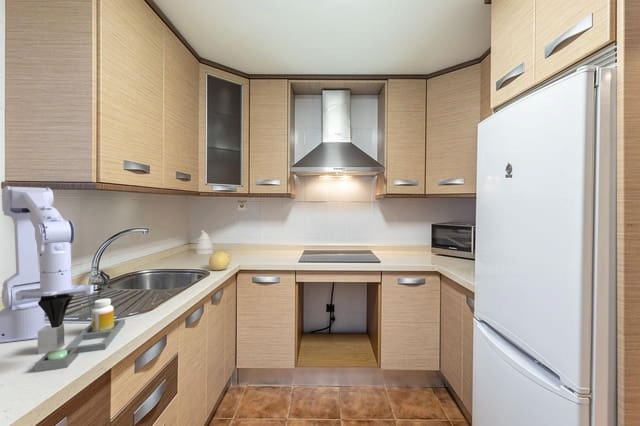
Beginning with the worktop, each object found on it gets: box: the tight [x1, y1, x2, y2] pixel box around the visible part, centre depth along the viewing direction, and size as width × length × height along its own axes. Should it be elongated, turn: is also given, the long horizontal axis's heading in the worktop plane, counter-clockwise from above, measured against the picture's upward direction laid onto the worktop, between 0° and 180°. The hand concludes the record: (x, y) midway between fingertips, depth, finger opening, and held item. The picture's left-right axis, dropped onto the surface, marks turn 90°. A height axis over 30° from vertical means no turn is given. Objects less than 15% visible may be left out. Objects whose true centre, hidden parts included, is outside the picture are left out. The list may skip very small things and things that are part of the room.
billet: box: [37, 323, 66, 355], centre depth 79 cm, size 4×4×6 cm
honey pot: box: [195, 230, 214, 255], centre depth 238 cm, size 13×13×18 cm
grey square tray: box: [34, 348, 79, 373], centre depth 72 cm, size 6×6×2 cm
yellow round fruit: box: [208, 251, 232, 271], centre depth 177 cm, size 11×12×11 cm
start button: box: [48, 348, 67, 360], centre depth 72 cm, size 4×4×2 cm
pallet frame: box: [64, 318, 126, 354], centre depth 86 cm, size 9×18×2 cm, turn 20°
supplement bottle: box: [91, 298, 115, 333], centre depth 90 cm, size 5×5×10 cm
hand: (57, 325), depth 72 cm, fingers closed
